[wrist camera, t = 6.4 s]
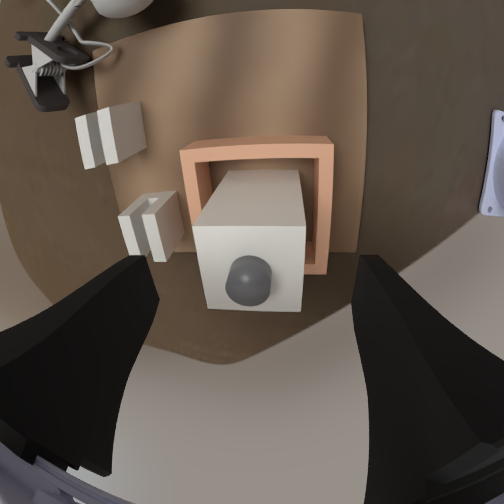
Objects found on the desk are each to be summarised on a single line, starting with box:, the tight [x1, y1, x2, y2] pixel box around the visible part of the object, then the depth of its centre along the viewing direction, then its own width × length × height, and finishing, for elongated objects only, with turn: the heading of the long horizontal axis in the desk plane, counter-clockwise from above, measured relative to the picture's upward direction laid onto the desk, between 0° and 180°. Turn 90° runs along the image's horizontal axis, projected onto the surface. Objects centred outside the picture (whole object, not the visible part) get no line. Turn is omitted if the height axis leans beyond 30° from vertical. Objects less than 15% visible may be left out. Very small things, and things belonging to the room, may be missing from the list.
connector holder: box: [179, 136, 334, 274], centre depth 15 cm, size 7×7×2 cm
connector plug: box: [192, 170, 306, 312], centre depth 13 cm, size 4×4×8 cm
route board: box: [92, 9, 367, 252], centre depth 15 cm, size 16×15×1 cm
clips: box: [75, 101, 185, 262], centre depth 15 cm, size 4×9×3 cm, turn 4°
